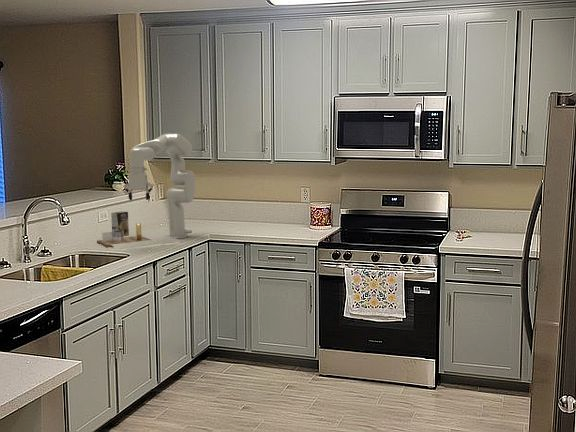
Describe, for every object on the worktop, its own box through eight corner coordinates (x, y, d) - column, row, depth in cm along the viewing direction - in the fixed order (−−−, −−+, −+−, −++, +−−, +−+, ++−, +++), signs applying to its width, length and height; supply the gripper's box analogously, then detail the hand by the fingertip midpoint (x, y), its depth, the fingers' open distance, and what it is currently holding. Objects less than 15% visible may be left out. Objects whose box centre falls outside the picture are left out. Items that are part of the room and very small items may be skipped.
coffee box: (119, 238, 460) (118, 213, 457) (112, 238, 463) (110, 212, 461) (129, 236, 467) (128, 211, 465) (122, 235, 471) (120, 211, 468)
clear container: (118, 238, 452) (117, 228, 451) (125, 241, 441) (124, 231, 441) (97, 240, 446) (97, 230, 445) (104, 243, 435) (104, 233, 434)
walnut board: (140, 238, 461) (140, 235, 460) (151, 242, 445) (151, 239, 444) (96, 242, 446) (96, 240, 446) (106, 247, 430) (106, 245, 430)
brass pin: (140, 239, 447) (139, 223, 446) (142, 239, 445) (141, 223, 444) (136, 239, 446) (135, 223, 444) (137, 240, 443) (137, 224, 442)
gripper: (154, 169, 420) (155, 198, 423) (124, 169, 421) (126, 199, 424) (151, 170, 413) (152, 200, 415) (120, 171, 414) (122, 201, 416)
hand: (139, 199), depth 420 cm, fingers open, 9 cm apart
